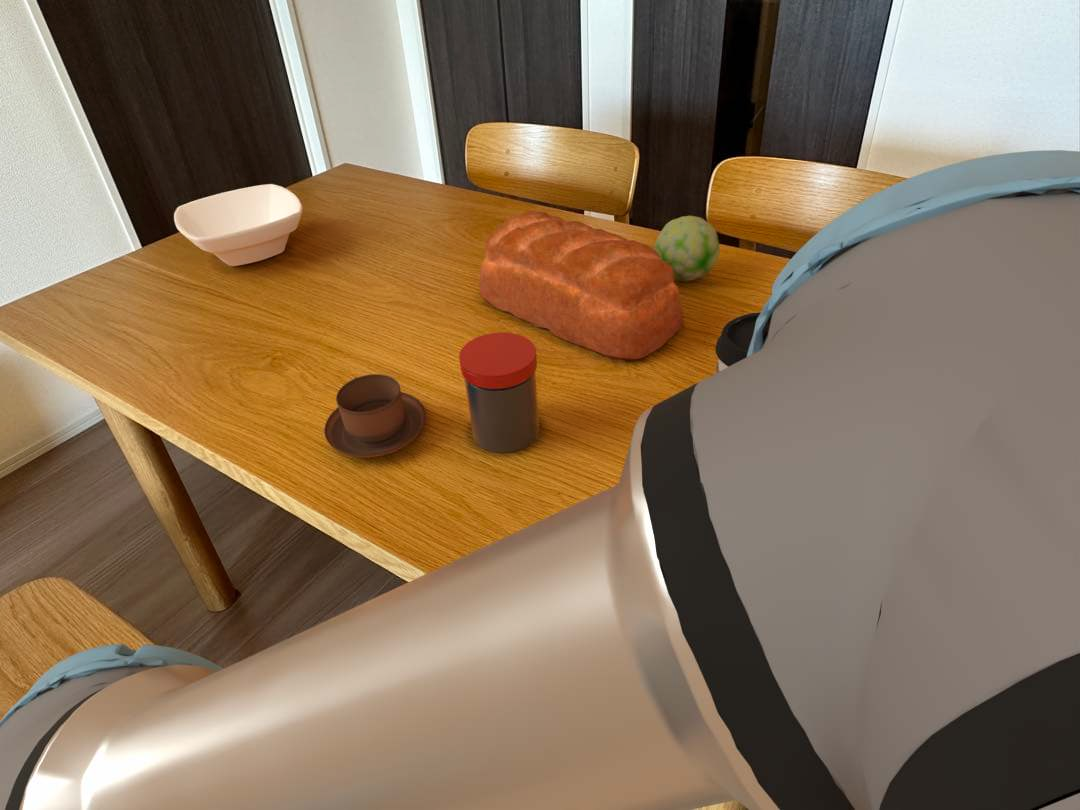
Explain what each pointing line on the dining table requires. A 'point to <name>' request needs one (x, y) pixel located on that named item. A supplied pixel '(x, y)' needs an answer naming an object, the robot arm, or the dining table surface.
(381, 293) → the dining table surface
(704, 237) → the decorative ball
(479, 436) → the jar
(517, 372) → the jar lid
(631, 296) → the bread
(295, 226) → the bowl
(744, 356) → the coffee cup
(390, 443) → the cup and saucer
